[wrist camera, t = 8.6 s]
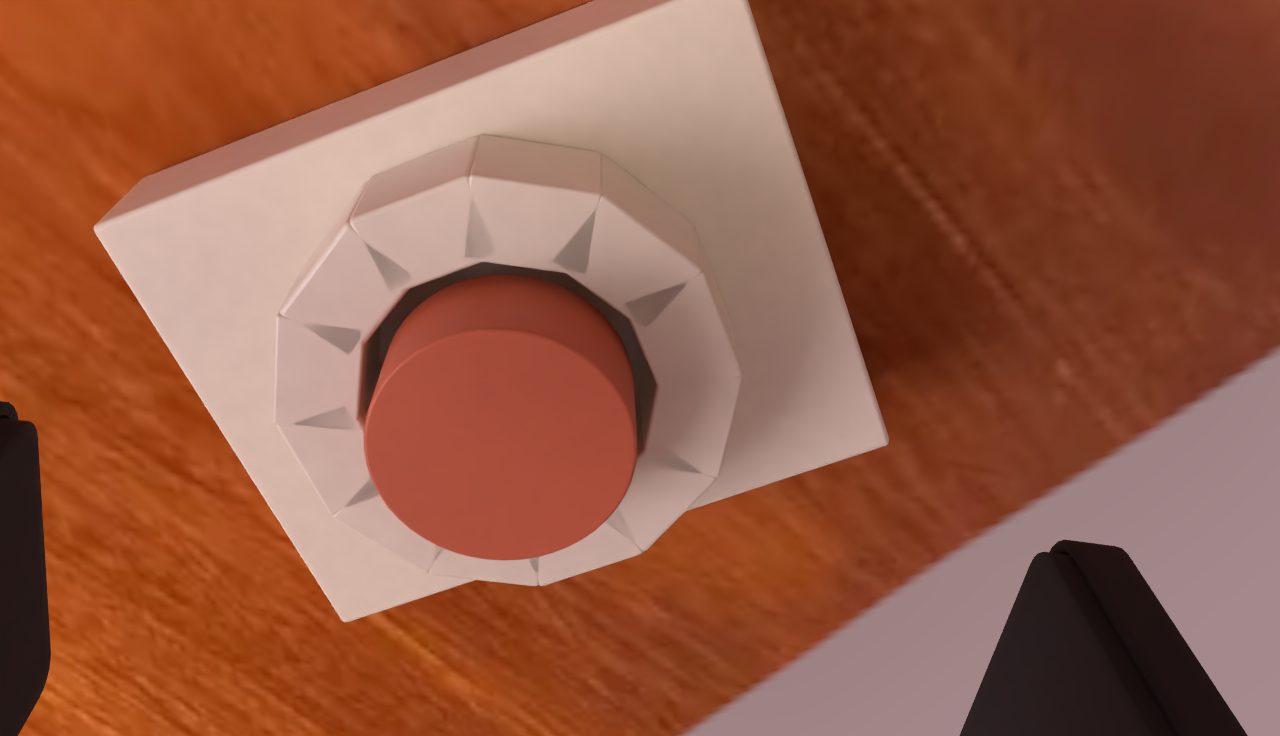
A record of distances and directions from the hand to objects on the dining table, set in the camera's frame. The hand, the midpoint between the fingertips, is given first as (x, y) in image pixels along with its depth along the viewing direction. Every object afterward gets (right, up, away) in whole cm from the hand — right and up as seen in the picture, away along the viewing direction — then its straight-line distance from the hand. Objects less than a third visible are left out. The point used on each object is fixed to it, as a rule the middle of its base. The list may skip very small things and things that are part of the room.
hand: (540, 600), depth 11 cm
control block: (-1, +4, +9) cm, 10 cm away
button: (-1, +2, +6) cm, 6 cm away
